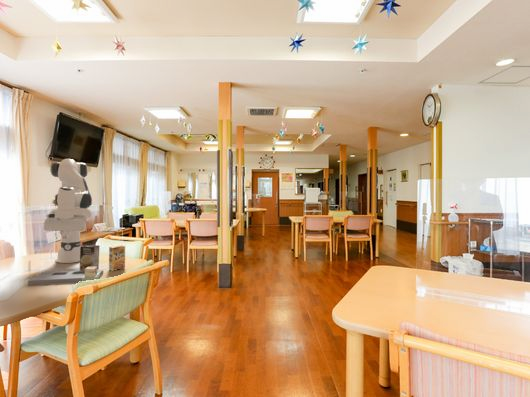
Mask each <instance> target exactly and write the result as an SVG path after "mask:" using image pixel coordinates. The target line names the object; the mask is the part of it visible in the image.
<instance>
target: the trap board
mask: <svg viewBox="0 0 530 397" xmlns="http://www.w3.org/2000/svg"><path fill="white" fill-rule="evenodd" d="M101 275H102V276H103V275H104V269H99V270H97V275H96V276H95V277H85V271H80V270H68V271H67V270H65V271H44V272H41V273H38V274H37V275H35V276H34V277H32V278H30V279H28V280H27V286H41V285H59V284H60V285H61V284H73V283H74V284H75V283H77V282H79V281H86V280H94V279H98V278H99V277H100V276H101ZM102 276H101V277H102ZM101 277H100V278H101ZM100 278H99V279H100ZM99 279H98V280H99ZM79 283H80V282H79Z"/></svg>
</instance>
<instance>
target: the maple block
mask: <svg viewBox="0 0 530 397" xmlns="http://www.w3.org/2000/svg"><path fill="white" fill-rule="evenodd" d="M96 275H97V267H87V268H86V269H85V277H95V276H96Z"/></svg>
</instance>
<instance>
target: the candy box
mask: <svg viewBox="0 0 530 397" xmlns="http://www.w3.org/2000/svg"><path fill="white" fill-rule="evenodd" d="M108 250H109V251H108V271H110V270H111V272H114V270H115V271H118V270H117V269H120V270H123V269H122V268H125V269H126V245H123V244H122V245H116V246H109V247H108Z"/></svg>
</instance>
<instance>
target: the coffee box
mask: <svg viewBox="0 0 530 397" xmlns="http://www.w3.org/2000/svg"><path fill="white" fill-rule="evenodd" d="M87 267H97V270H98V269H99V267H100V245H95V244H85V245H81V247H80V261H79V271H85V269H86V268H87ZM99 270H100V269H99Z"/></svg>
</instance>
